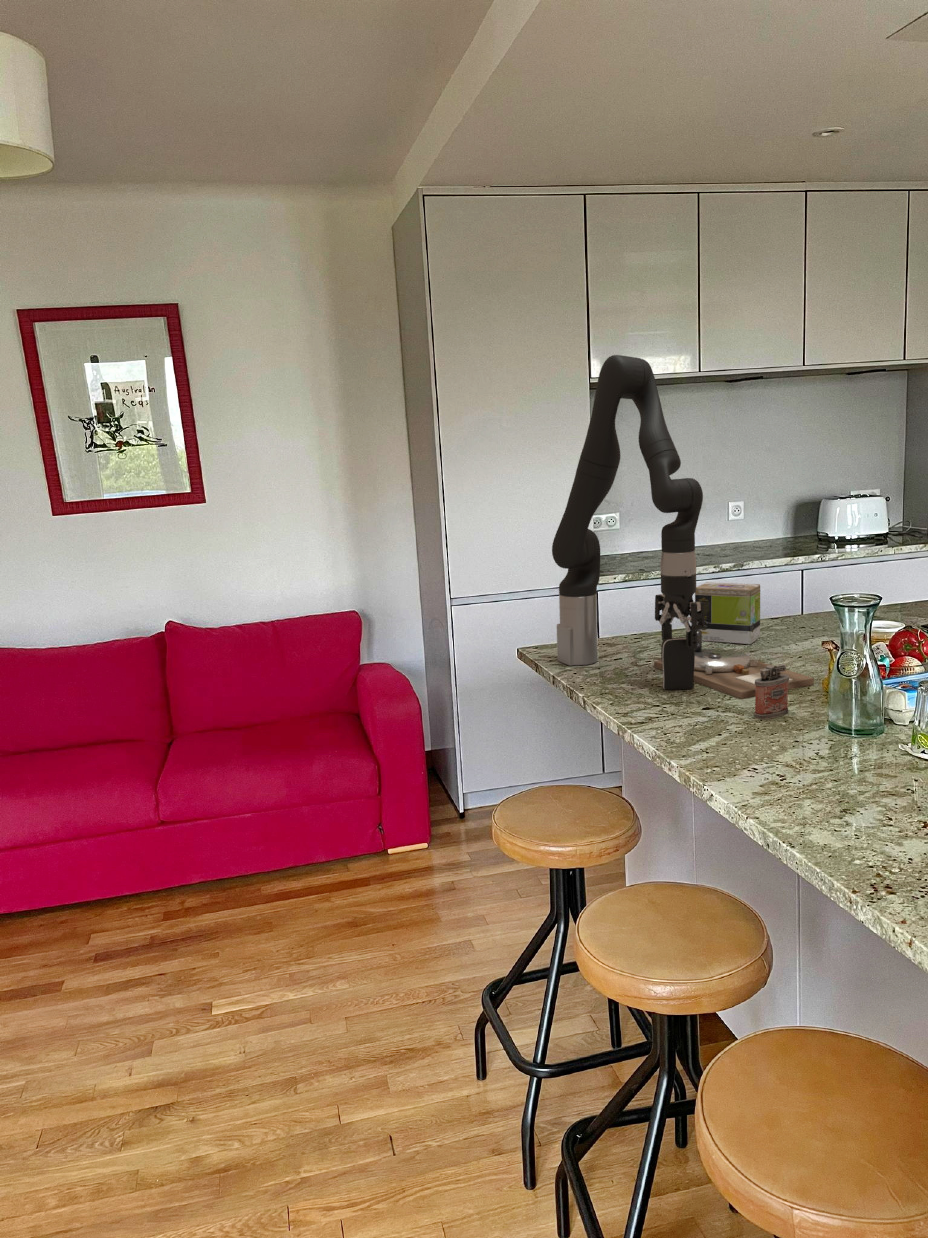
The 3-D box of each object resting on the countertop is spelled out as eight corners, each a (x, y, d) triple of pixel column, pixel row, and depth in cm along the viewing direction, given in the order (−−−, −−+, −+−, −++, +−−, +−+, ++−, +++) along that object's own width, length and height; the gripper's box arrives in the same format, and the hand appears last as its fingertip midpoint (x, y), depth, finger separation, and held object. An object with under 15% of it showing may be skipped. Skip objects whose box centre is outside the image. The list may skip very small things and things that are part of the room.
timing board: (741, 699, 191) (741, 687, 190) (654, 667, 219) (654, 657, 218) (813, 684, 199) (814, 673, 198) (720, 655, 227) (720, 645, 226)
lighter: (762, 720, 177) (763, 671, 175) (749, 716, 180) (750, 667, 178) (792, 713, 181) (793, 664, 179) (779, 708, 184) (780, 661, 182)
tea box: (760, 637, 244) (761, 583, 240) (750, 645, 235) (751, 589, 232) (705, 633, 252) (706, 580, 248) (693, 640, 243) (694, 586, 240)
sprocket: (706, 678, 201) (706, 650, 200) (656, 660, 219) (656, 633, 217) (775, 666, 208) (775, 639, 207) (722, 649, 226) (722, 624, 224)
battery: (690, 684, 203) (690, 635, 201) (695, 689, 199) (695, 639, 197) (659, 686, 203) (659, 636, 201) (663, 691, 199) (663, 640, 197)
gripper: (644, 570, 201) (645, 641, 204) (685, 577, 188) (685, 653, 191) (672, 566, 204) (672, 636, 207) (713, 573, 191) (714, 648, 194)
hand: (679, 644), depth 199 cm, fingers open, 8 cm apart
